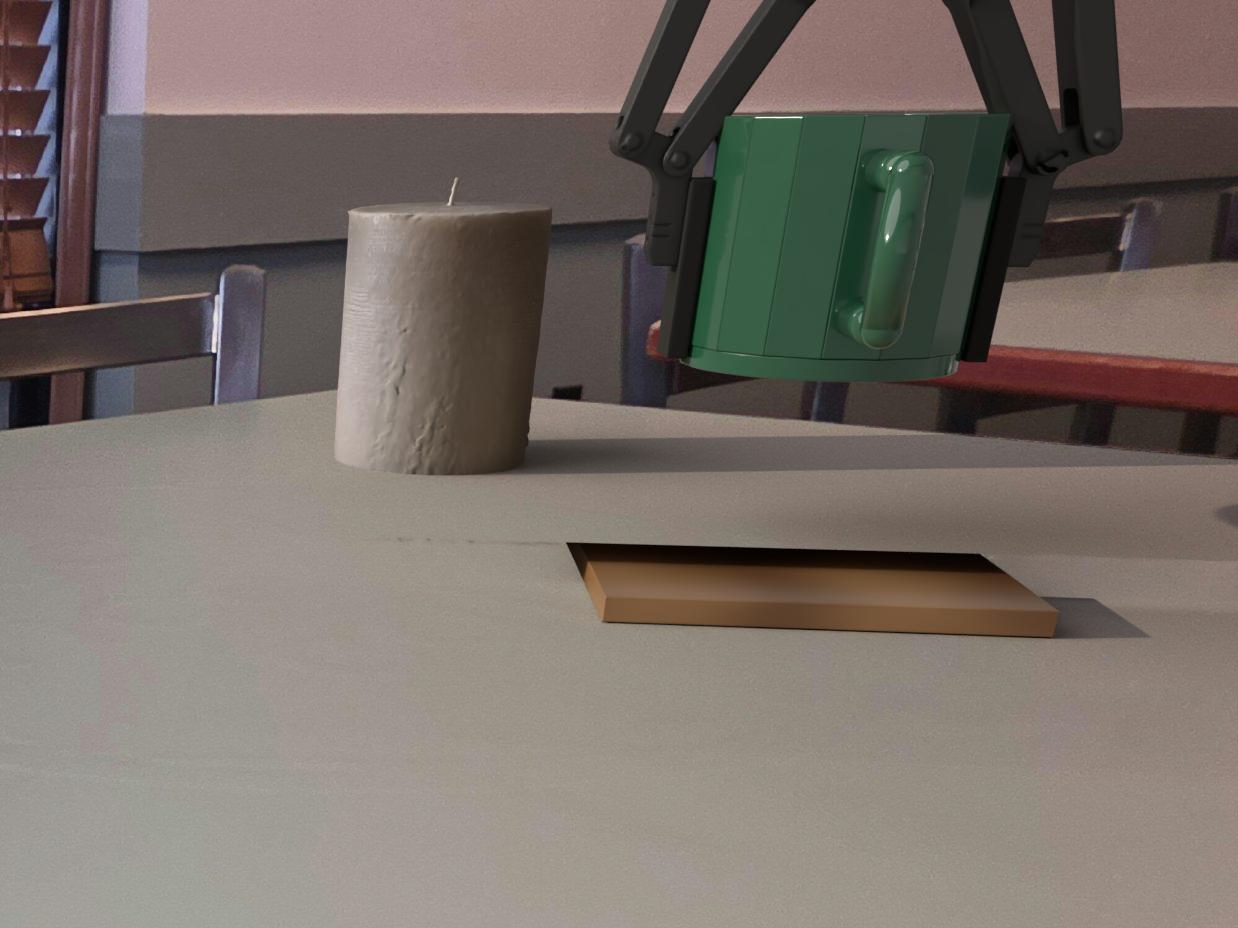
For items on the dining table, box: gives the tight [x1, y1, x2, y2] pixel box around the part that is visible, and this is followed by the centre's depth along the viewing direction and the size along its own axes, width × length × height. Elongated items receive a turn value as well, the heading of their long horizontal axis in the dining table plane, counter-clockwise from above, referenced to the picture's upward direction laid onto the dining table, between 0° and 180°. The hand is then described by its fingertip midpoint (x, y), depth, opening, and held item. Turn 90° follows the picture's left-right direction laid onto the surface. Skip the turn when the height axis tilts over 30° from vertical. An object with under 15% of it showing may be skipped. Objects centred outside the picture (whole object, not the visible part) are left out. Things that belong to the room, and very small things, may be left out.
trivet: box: [565, 541, 1060, 638], centre depth 72 cm, size 16×16×1 cm
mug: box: [678, 112, 1015, 383], centre depth 65 cm, size 14×10×9 cm
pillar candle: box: [333, 177, 553, 476], centre depth 86 cm, size 10×10×15 cm
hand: (816, 356), depth 69 cm, fingers closed on mug, 10 cm apart
